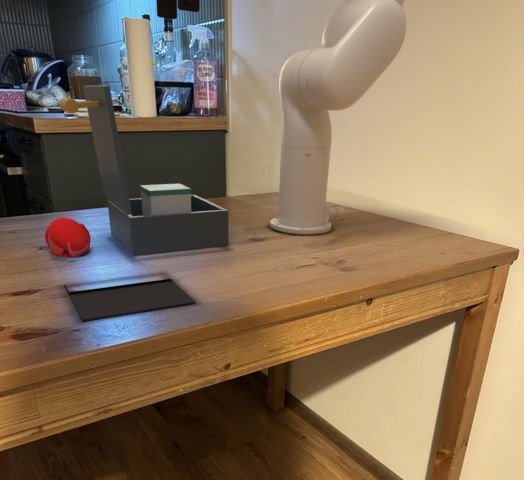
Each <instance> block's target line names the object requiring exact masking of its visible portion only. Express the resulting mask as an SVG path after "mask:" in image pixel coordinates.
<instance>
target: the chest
mask: <svg viewBox="0 0 524 480" xmlns="http://www.w3.org/2000/svg"><path fill="white" fill-rule="evenodd" d="M106 200H107V199H106ZM129 200H130V205H131V211H132V214H131V215H126V214H125V213H124V212H123V211H121V210H120V209H119V208H117V207H116V206H115V205H114V204H112V203H111V202H110V201H109V200H107V208H108V209H107V210H108V219H109V227H110V234H111V236H112V237H113V238H114V239H115V240H116V241H117V242H118V243H119V244H120V245H121V246H122V247H123V248H124V249H125V250H126V251H127V252H128V253H129V254H130V255H131V256H132V257H140V256H150V255H157V254H167V253H177V252H185V251H186V252H187V251H194V250H195V251H196V250H203V249H213V248H223V247H228V246H229V209H226V208H224V207H222V206H220V205H218V204H216V203H214V202H212V201H209V200H207V199H205V198H202V197H200V196H199V195H197V194H191V212H187V213H173V214H160V215H147V216H143V211H142V198H141V197H139V198H137V197H136V198H129Z"/></svg>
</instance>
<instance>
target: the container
mask: <svg viewBox="0 0 524 480" xmlns="http://www.w3.org/2000/svg"><path fill="white" fill-rule="evenodd" d="M139 190H140V196H141V197H140V198H142V211H143V216H147V215H160V214H173V213H187V212H191V195H192V188H190V187H189V186H186V185H184V184H181V183H163V184H162V183H161V184H141V185H139Z"/></svg>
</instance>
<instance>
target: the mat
mask: <svg viewBox="0 0 524 480" xmlns="http://www.w3.org/2000/svg"><path fill="white" fill-rule="evenodd" d="M63 287H64V289H65V290H66V292H67V295H68V297H69V298H70V300H71V302H72V305H73V306H74V308H75V310H76V312H77V314H78V316H79V318H80V320H81V322H82V323H83V322H89V321H96V320H103V319H109V318H114V317H115V318H116V317H120V316H121V317H122V316H127V315H133V314H139V313H146V312H151V311H157V310H158V311H159V310H165V309H171V308H178V307H183V306H189V305H196V300H194V299H193V298H192V297H191V296H190V295H189V294H188V293H187V292H186V291H185V290H183V288H181V287H180V286H179V285H178V284H177V283H176V282H175V281H174V280H173V279H172V278H165V279H157V280H149V281H143V282H141V281H140V282H133V283H127V284H119V285H111V286H105V287H97V288H90V289H89V288H88V289H82V290H75V291H70V290H69V289H68V287H67V285H66V284H63Z"/></svg>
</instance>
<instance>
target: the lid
mask: <svg viewBox="0 0 524 480" xmlns="http://www.w3.org/2000/svg"><path fill="white" fill-rule="evenodd" d="M82 89H83V95H84V99H85V100H78V101H77V100H75V99H74V98H66V97H63V98H61V99H60V100H59V101H58V106H59V108H60V109H61V110H62V111H64V112H66V113H70V114H75V113H78V111H79V109H87V110H86V111H87V115H88V121H89V125H90V129H91V135H92V140H93V145H94V150H95V154H96V160H97V164H98V169H99V175H100V180H101V186H102V190H103V195H104V199H106V200H109V201H110V202H111V203H112V204H114V205H115V206H116V207H117V208H119V209H120V210H121V211H123V212H124V213H125V214H126V215H131V214H132V211H131V205H130V200H129V199H130V195H129V194H130V193H129V187H128V184H127V177H126V171H125V166H124V160H123V154H122V148H121V142H120V137H119V131H118V125H117V120H116V113H115V109H114V102H113V97H112V91H111V86H110V85H83V86H82Z"/></svg>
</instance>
